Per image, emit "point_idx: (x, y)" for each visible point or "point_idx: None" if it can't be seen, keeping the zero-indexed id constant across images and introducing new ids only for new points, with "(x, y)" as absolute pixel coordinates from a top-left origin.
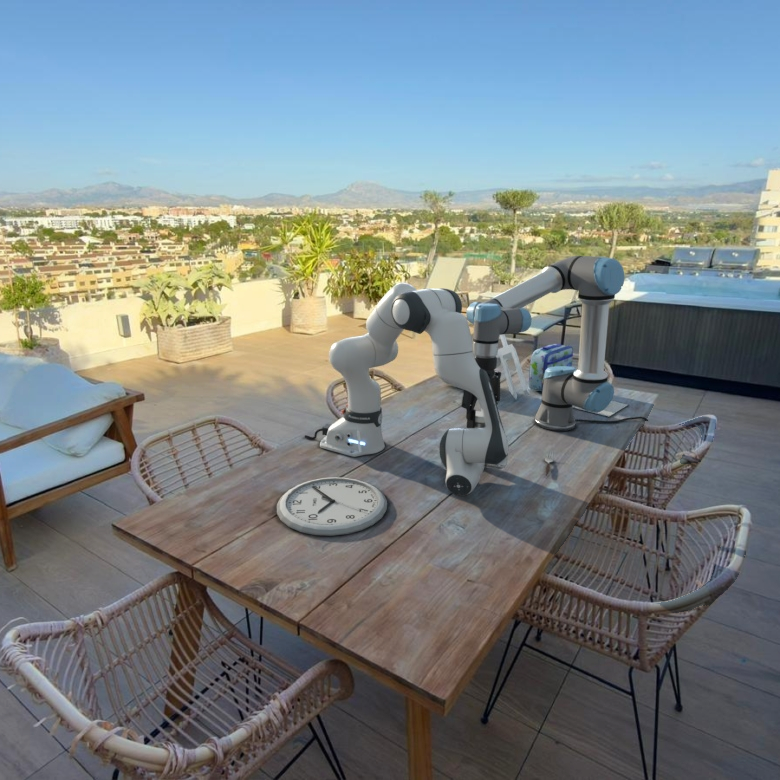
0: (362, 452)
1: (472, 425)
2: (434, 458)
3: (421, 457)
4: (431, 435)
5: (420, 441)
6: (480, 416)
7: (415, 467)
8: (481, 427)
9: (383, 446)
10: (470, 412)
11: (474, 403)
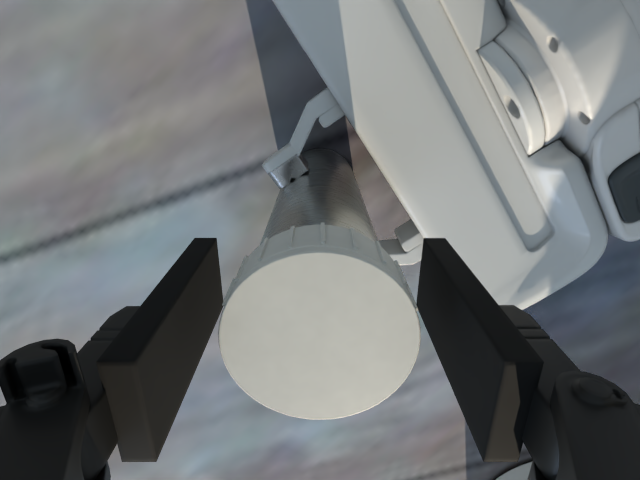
0: None
1: (459, 261)
2: (424, 325)
3: None
4: (277, 468)
5: (352, 452)
6: (389, 286)
7: (550, 305)
8: (357, 224)
9: (516, 476)
10: (559, 364)
11: (613, 471)
